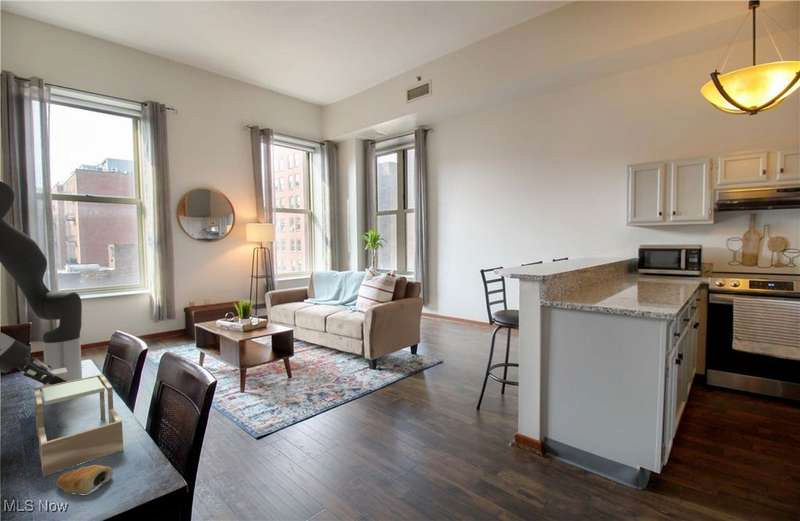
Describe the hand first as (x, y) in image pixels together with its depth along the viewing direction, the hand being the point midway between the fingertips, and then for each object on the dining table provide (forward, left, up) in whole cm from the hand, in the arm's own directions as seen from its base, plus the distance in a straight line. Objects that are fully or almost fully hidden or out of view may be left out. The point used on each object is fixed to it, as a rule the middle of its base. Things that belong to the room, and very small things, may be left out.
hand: (64, 383), depth 105 cm
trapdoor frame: (+20, +7, -10) cm, 23 cm away
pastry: (+41, +13, -10) cm, 44 cm away
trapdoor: (+15, +5, +2) cm, 16 cm away
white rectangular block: (0, -2, -4) cm, 5 cm away
